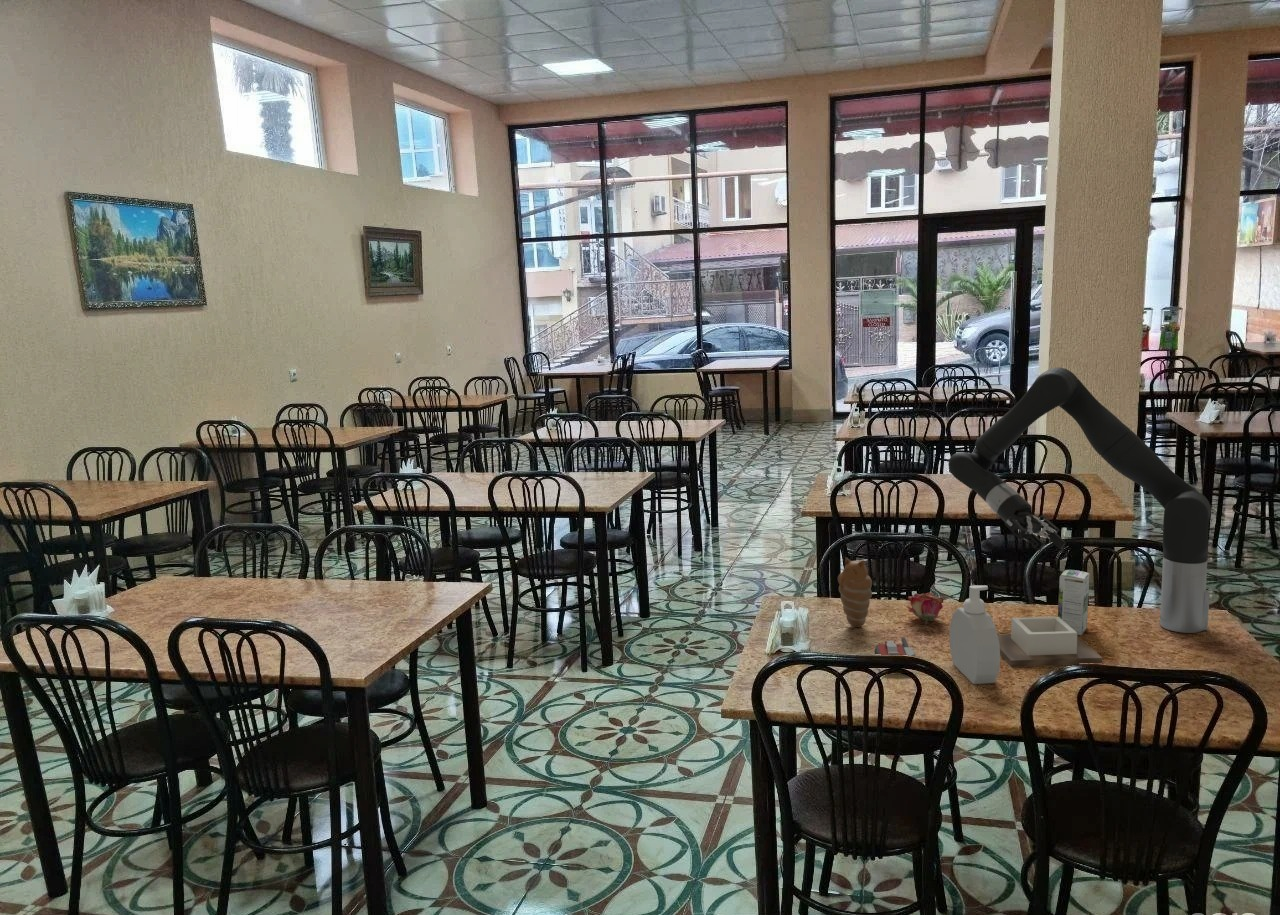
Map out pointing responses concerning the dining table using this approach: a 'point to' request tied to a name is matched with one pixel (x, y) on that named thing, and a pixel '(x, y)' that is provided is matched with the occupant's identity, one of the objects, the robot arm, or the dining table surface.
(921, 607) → the flower
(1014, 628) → the white open square box
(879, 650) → the walkie-talkie
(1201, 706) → the dining table surface
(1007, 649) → the walnut stand
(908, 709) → the dining table surface
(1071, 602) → the syrup box
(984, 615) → the soap bottle
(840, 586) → the cat ice cream
